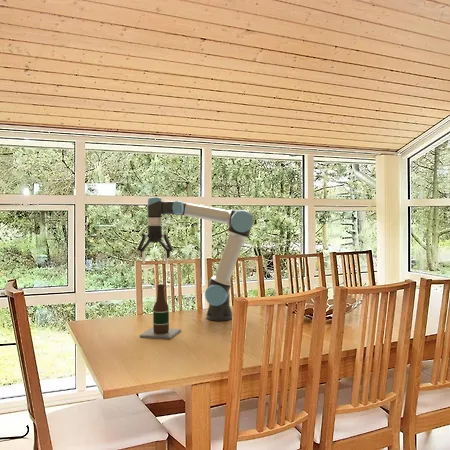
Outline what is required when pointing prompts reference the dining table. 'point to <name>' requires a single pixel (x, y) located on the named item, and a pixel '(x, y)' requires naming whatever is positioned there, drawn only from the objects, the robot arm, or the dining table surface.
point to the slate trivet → (168, 335)
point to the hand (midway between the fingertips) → (155, 263)
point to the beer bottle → (160, 312)
